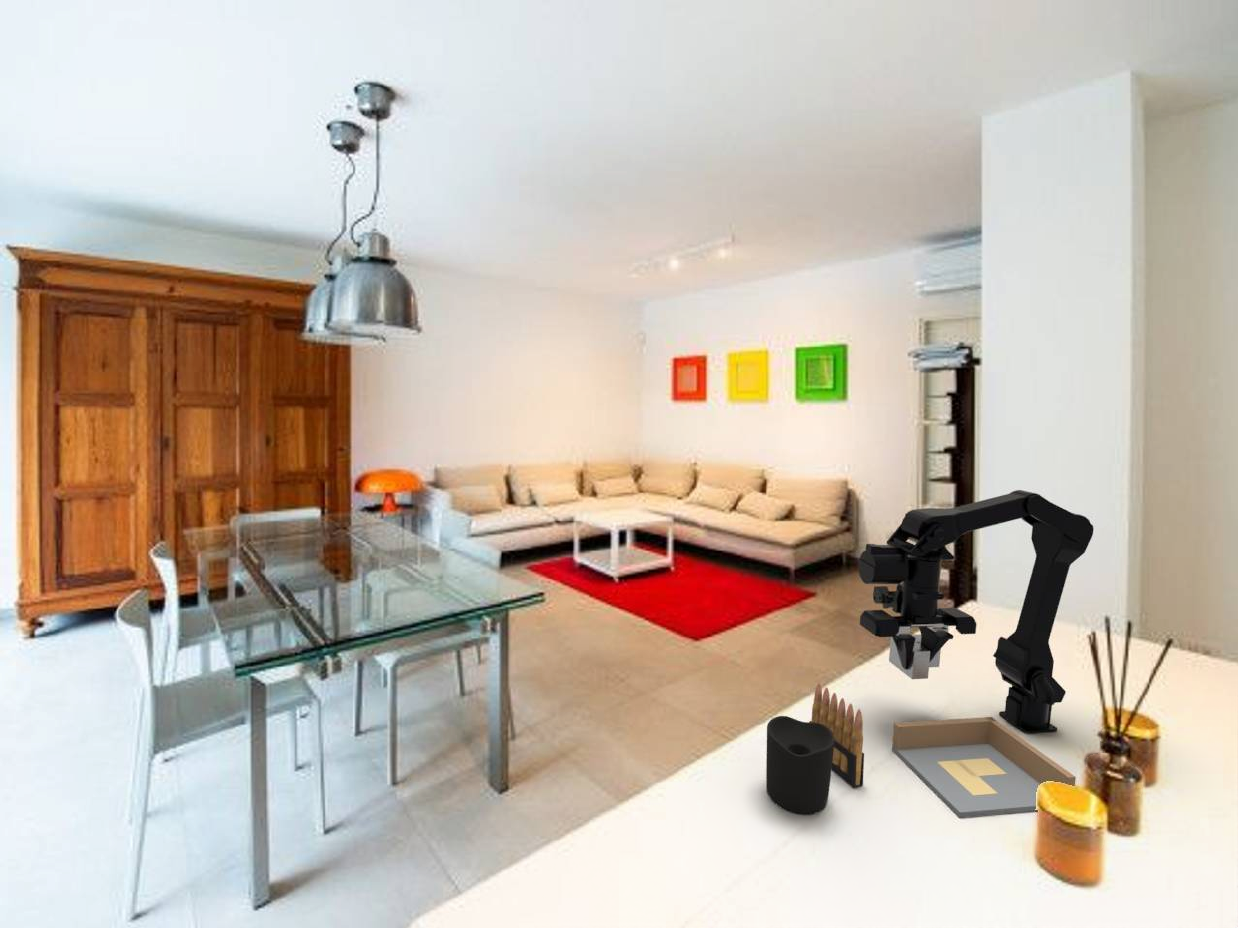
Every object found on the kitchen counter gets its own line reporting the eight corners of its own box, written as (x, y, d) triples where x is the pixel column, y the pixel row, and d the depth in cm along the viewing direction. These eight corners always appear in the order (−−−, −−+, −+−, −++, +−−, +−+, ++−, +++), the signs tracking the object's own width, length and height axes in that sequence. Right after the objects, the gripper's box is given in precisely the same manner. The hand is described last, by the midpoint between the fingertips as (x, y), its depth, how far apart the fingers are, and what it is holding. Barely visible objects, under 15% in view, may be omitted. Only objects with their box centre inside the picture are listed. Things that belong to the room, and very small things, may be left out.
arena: (988, 743, 101) (991, 716, 101) (1072, 807, 86) (1075, 776, 85) (891, 749, 99) (894, 722, 98) (959, 817, 83) (962, 785, 83)
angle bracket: (954, 677, 104) (956, 650, 103) (912, 679, 103) (914, 651, 102) (928, 659, 111) (930, 634, 110) (888, 661, 110) (890, 635, 109)
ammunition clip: (863, 785, 90) (869, 711, 88) (853, 788, 89) (859, 713, 88) (815, 746, 99) (819, 678, 98) (806, 748, 99) (810, 680, 97)
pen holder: (795, 826, 81) (799, 758, 80) (750, 785, 89) (753, 723, 88) (844, 805, 85) (849, 740, 84) (797, 768, 93) (800, 709, 92)
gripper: (939, 568, 112) (932, 646, 114) (847, 570, 110) (841, 650, 112) (982, 587, 101) (974, 674, 103) (880, 590, 99) (874, 678, 101)
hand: (913, 668), depth 105 cm, fingers closed on angle bracket, 3 cm apart
